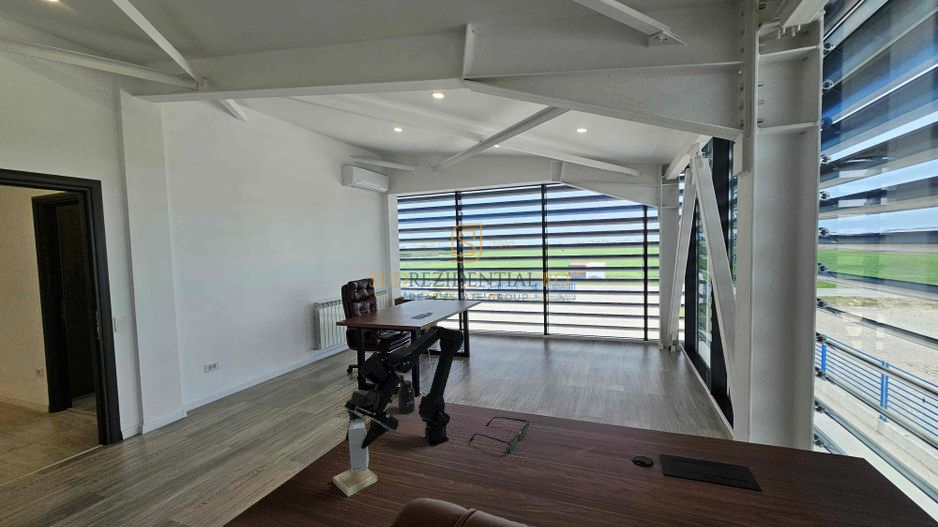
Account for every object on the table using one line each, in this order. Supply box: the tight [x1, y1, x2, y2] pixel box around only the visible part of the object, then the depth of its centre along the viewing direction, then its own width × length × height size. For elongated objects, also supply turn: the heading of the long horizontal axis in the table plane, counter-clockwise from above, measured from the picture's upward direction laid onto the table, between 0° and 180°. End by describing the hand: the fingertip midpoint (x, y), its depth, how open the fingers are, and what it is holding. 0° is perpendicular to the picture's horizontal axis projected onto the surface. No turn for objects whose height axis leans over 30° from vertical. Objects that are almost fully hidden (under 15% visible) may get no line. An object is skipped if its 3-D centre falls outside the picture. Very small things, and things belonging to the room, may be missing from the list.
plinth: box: [332, 467, 378, 497], centre depth 103 cm, size 9×9×2 cm
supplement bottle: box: [397, 379, 416, 415], centre depth 149 cm, size 7×7×12 cm
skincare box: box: [347, 417, 370, 472], centre depth 100 cm, size 6×4×12 cm
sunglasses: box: [470, 416, 530, 453], centre depth 124 cm, size 16×17×5 cm
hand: (354, 444), depth 99 cm, fingers closed on skincare box, 7 cm apart
